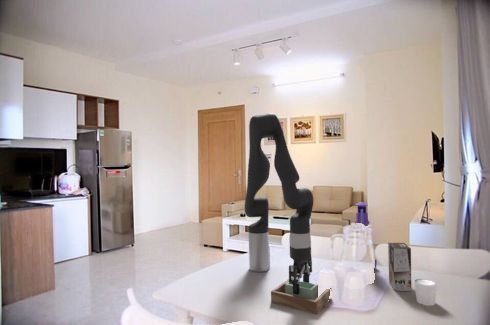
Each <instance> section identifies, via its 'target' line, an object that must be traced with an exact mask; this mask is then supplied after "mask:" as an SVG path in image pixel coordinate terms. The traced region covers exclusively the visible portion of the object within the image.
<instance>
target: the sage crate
mask: <svg viewBox="0 0 490 325" xmlns="http://www.w3.org/2000/svg"><path fill="white" fill-rule="evenodd" d="M318 285H319V284H316V283H313V282H309V283H307V282H303V280H302V281H301V280H300V281H299V294H298V295H296V294H293V284H292V283H289V282H288V283H286V284H285V292H286V294H290V295H294V296H298V297H302V298H307V299H311V300H315V299H316V298H318Z"/></svg>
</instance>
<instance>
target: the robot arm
mask: <svg viewBox="0 0 490 325" xmlns="http://www.w3.org/2000/svg"><path fill="white" fill-rule="evenodd" d="M248 123H249V124H248V131H249V132H248V133H249V134H248V135H249V136H248V138H249V139H248V140H249V141H248V142H249V151H248V152H249V153H248V154H249V155H248V165H247V181H246V182H247V184H246V185H247V186H246V194H245V200H244V213H245V216H246V217H247V218H259V220H257V221H255V222H253V223H251V224H249V225H248V259H249V260H248V261H249V262H248V263H249V264H248V265H249V266H248V267H249V270H250V271H251V272H257V273H258V272H259V273H260V272H261V273H263V272H267V271H269V270H270V267H271V252H270V251H271V248H270V243H269V242H270V239H269V236H270V235H269V213H270V212H269V210H270V209H269V208H270V206H269V199H268V197H266V196H256V195H257V193H258V192H259V191H260V190H261V189H262V188H263V187H264V185H265V184H266V183H267V182H268V180H269V178H270V171H271V170H270V169H271V162H270V160H269V158H268V157H267V155H266V153H264V151H263V149H262V140H263V139H266V138H271V137H272V139H273V141H274V144H275V154H274V158H273V159H274V160H273V166H274V168H275V172H276V174H277V176H278V179H279V181H280V183H281V190H282V195H283V197H282V198H283V200H284V203H285V204H286V206H287V207H288V208H289V209H291V210H295V213H293V215H291V217H290V218H289V258H290V259H292V260H293V264H292V265H289V267H288V279H289V283H292V284H293V294H296V295H298V294H299V281H301V278H302V281H303V282H307V283H310V276H311V273H312V272H313V262H312V261H313V260H312V259H313V258H312V240H311V239H312V236H311V223H310V222H311V216H312V211H313V209H314V196H313V193H312V191H311V190H310V189H308V188H306V187H300V188H297V184H296V183H298V182H299V181H300V175H299V172H298V170H297V168H296V166H295V164H294V162H293V159H292V157H291V154H290V151H289V148H288V145H287V142H286V138H285V135H284V131H283V128H282V125H281V123H280V120H279V117H278V116H277V114H275V113H274V112H268V113H262V114H256V115H254V116H252V117H251V118H250V120H249V122H248Z"/></svg>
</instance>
